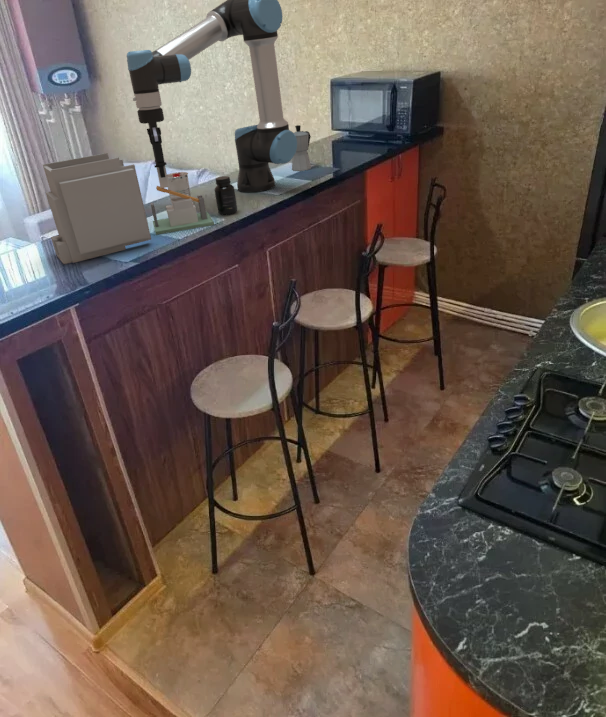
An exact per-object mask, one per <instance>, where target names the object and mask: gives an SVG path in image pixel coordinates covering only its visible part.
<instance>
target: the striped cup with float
mask: <svg viewBox="0 0 606 717" xmlns="http://www.w3.org/2000/svg"><path fill="white" fill-rule="evenodd" d="M167 178H168V183H169V187H167V189H168V190H171V191H175V192H178V193H181V194H184V195H189V196H191V188H190V181H189V172H186V171H176V172H171V173H167ZM168 194H169V193H168ZM168 196H169V198H170V202H171V203H172V200H171V197H177V196H176V195H172V194H169V195H168ZM191 197H192V196H191Z"/></svg>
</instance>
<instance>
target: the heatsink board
mask: <svg viewBox="0 0 606 717" xmlns="http://www.w3.org/2000/svg"><path fill="white" fill-rule="evenodd" d="M188 196H189V195H188ZM200 197H201V198H200ZM196 198H198V199H199V202H197V203H198V208H199V212H197V207H196V205H195V203H194V201H192V199H191V198H190V199H186V198H182V197H179V196H177V197H171V199H170V201H171V200H172V202H171V204H168V205H165V210H166V214H167V217H168V218H167V217H166V218H162V219H158V218H157V213H156V208H155V203H154V202H150V203H149V204H150V208H151V213H152V216H153V217H152V218H153V220H152V225H153V228H154V233H155V235H156V236H157V235H162V234H168V233H175V232H181V231H185V230H186V231H187V230H193V229H198V228H199V229H200V228H204V227H209V226H214V225H215V221H214V219H213V218H212V217H211V215H210V214H209V212H208V211H207V209H206V204H205V198H204V197H203V194H200V195H197V196H196Z"/></svg>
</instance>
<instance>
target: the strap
mask: <svg viewBox="0 0 606 717" xmlns="http://www.w3.org/2000/svg"><path fill="white" fill-rule="evenodd" d="M156 191H158V192H161V193H166V194H172V195H176V196H179V197H182V198H186V199H190V198H191V199H192V201H193V202H195V203H198V202H199V199H198V198H197V197H194V196H188V195H184V194H181V193H178V192H175V191H171V190H168V188H160V185H156ZM200 198H201V197H200Z"/></svg>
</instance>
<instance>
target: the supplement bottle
mask: <svg viewBox="0 0 606 717" xmlns="http://www.w3.org/2000/svg"><path fill="white" fill-rule="evenodd" d="M215 185H216V186H215V187H214V196H215V201H216V207H217V212H218V214H219V215H220V216H230V215H234V214H236V213H237V212H238V204H237V197H236V190H235V186H234V185H233V184H232V183H231V178H230V176H227V175H224V176H219V177H218V176H217V177H215Z"/></svg>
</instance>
